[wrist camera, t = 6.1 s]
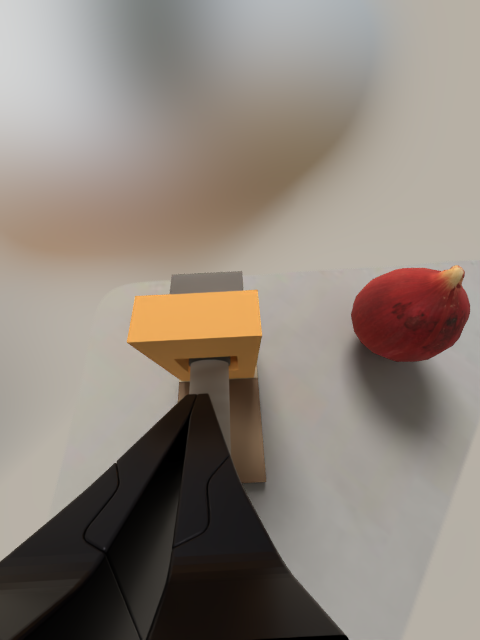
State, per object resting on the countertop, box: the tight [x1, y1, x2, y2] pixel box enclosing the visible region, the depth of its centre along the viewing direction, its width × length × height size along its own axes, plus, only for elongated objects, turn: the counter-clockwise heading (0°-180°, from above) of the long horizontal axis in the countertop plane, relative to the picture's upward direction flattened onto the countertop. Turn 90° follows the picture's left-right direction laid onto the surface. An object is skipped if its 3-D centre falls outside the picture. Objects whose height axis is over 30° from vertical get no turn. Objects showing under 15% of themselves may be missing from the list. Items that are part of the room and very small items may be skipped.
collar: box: [127, 290, 262, 381], centre depth 12 cm, size 2×5×8 cm, turn 93°
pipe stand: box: [170, 271, 266, 483], centre depth 13 cm, size 11×6×6 cm, turn 3°
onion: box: [351, 265, 470, 362], centre depth 14 cm, size 6×6×8 cm
